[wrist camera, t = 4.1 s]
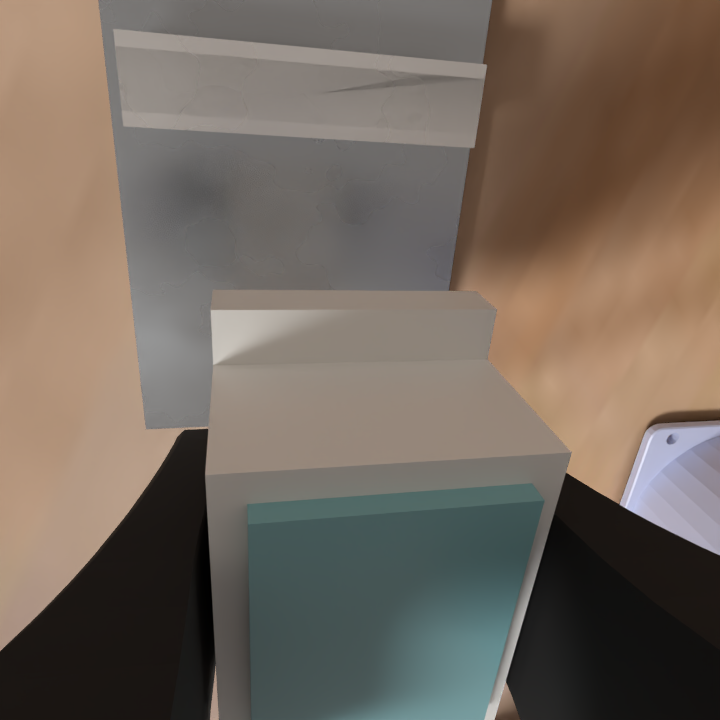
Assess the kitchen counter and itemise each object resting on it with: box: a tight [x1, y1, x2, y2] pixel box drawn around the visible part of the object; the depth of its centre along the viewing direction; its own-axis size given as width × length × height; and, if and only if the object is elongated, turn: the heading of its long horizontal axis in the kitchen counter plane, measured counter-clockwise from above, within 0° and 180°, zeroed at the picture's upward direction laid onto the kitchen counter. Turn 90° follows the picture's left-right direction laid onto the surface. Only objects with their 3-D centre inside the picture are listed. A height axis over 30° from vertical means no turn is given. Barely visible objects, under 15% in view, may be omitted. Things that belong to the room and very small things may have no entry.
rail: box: [113, 29, 487, 148], centre depth 13 cm, size 8×2×2 cm, turn 85°
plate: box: [99, 0, 492, 429], centre depth 15 cm, size 9×12×1 cm
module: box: [205, 290, 572, 720], centre depth 9 cm, size 4×6×5 cm
